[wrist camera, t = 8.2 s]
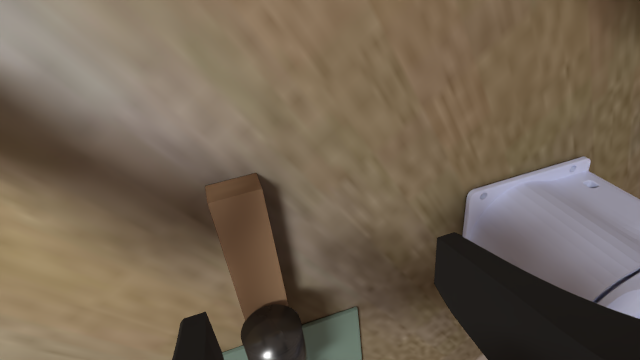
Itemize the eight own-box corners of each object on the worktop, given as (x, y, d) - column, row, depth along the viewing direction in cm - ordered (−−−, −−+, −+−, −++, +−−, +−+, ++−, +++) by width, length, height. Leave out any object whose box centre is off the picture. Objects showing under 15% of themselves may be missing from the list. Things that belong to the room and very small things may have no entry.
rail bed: (256, 172, 21) (262, 188, 19) (287, 309, 26) (293, 328, 25) (204, 186, 20) (207, 203, 19) (248, 322, 26) (252, 342, 24)
